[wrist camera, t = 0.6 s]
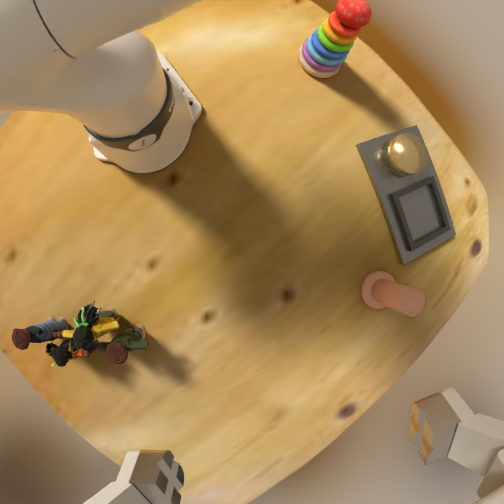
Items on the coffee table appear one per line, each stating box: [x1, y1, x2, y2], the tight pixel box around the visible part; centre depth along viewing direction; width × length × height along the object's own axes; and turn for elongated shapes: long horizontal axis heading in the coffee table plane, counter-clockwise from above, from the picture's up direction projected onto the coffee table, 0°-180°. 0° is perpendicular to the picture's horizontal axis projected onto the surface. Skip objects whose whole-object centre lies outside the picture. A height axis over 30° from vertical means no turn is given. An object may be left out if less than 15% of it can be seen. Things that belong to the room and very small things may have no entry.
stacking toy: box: [298, 0, 372, 78], centre depth 38 cm, size 8×8×19 cm
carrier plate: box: [356, 125, 456, 265], centre depth 48 cm, size 22×14×5 cm, turn 23°
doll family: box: [12, 301, 149, 367], centre depth 40 cm, size 23×9×13 cm, turn 106°
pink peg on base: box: [361, 271, 426, 317], centre depth 45 cm, size 6×6×12 cm
